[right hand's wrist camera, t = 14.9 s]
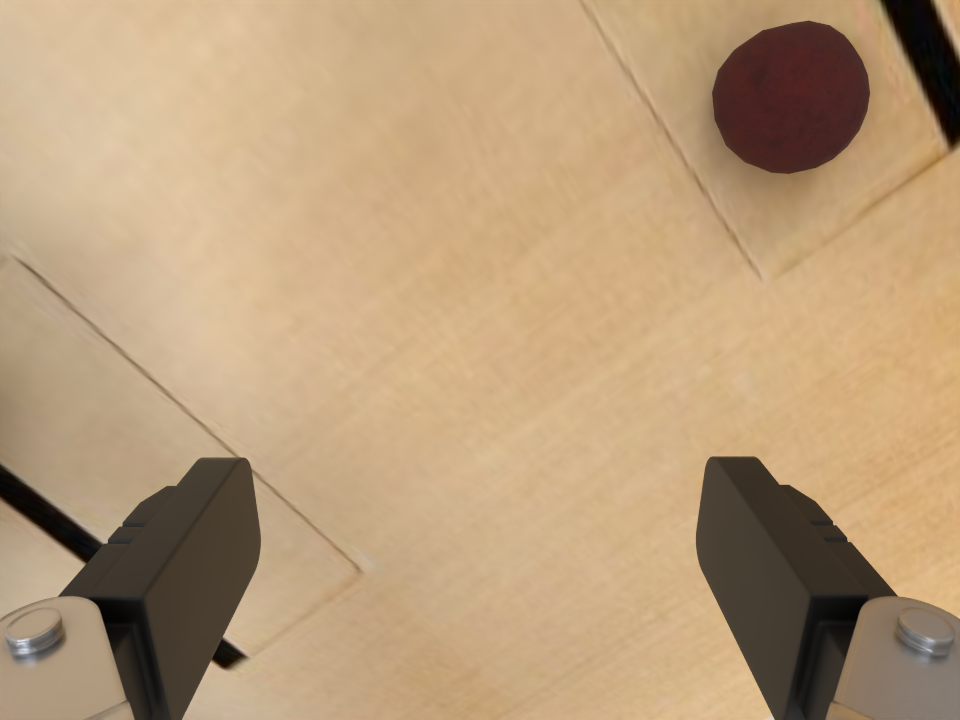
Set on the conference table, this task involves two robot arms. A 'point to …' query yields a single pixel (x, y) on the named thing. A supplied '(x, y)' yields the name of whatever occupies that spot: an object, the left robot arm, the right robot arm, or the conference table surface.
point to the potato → (791, 97)
